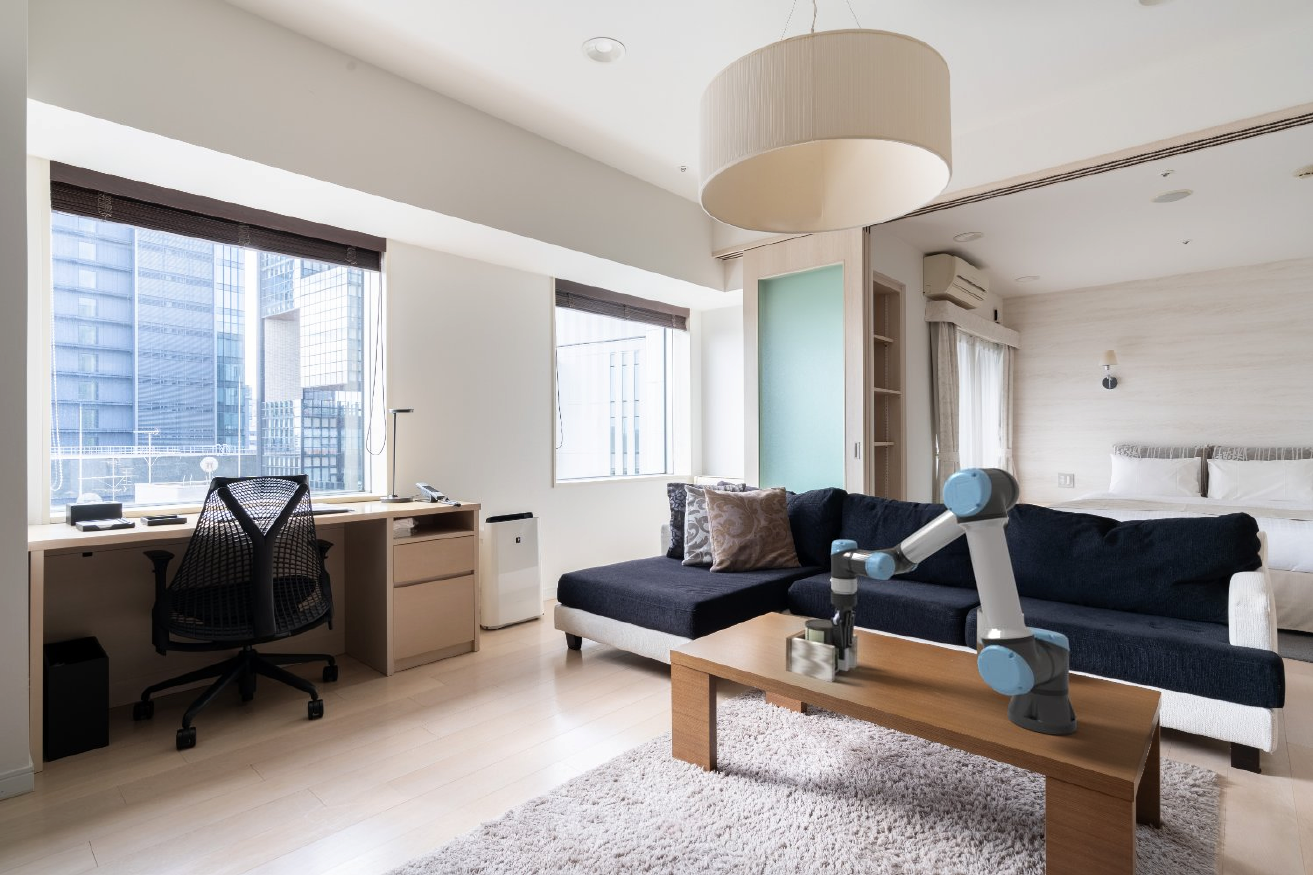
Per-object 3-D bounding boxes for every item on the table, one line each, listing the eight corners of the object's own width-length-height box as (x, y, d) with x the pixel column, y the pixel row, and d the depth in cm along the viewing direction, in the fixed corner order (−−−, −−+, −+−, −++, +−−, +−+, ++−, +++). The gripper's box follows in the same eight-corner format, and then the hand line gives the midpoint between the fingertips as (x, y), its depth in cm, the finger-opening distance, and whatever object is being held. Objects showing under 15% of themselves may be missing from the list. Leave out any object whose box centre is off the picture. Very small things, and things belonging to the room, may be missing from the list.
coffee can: (837, 664, 211) (837, 619, 211) (840, 675, 201) (840, 628, 201) (803, 662, 213) (804, 617, 213) (805, 673, 203) (805, 626, 203)
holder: (857, 666, 209) (857, 634, 209) (831, 681, 196) (831, 647, 196) (813, 656, 219) (813, 625, 219) (785, 670, 205) (786, 637, 205)
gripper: (841, 586, 210) (840, 661, 210) (822, 593, 200) (821, 672, 200) (864, 589, 206) (863, 666, 205) (846, 596, 196) (845, 677, 195)
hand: (843, 669), depth 203 cm, fingers closed
